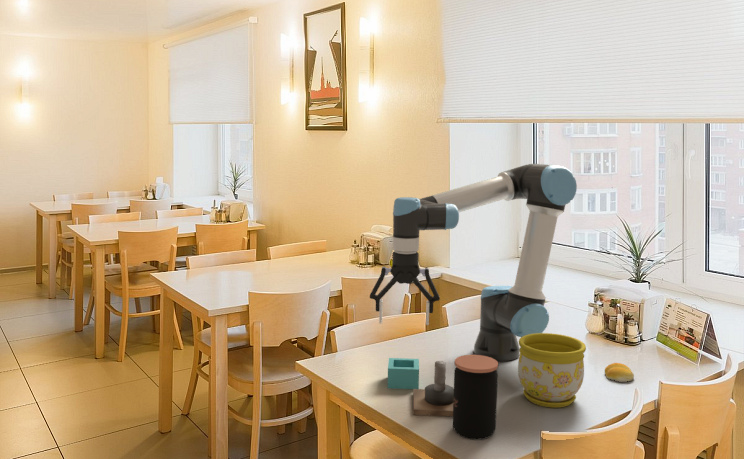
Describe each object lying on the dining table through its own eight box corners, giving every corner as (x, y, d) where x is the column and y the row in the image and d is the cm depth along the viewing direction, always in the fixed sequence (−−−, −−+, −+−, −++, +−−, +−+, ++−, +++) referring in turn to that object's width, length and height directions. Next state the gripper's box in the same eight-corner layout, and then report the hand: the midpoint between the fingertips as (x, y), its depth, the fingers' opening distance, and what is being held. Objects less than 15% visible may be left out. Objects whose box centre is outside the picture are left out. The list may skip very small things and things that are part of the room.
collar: (418, 377, 200) (418, 358, 199) (418, 389, 191) (419, 369, 190) (388, 376, 200) (388, 357, 199) (387, 388, 191) (387, 368, 191)
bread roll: (607, 382, 199) (608, 369, 198) (602, 371, 208) (603, 359, 207) (636, 384, 197) (637, 371, 197) (630, 373, 206) (631, 361, 206)
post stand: (463, 395, 187) (464, 354, 185) (467, 416, 173) (468, 373, 171) (413, 393, 188) (414, 353, 186) (413, 414, 174) (414, 371, 172)
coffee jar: (464, 417, 172) (466, 351, 170) (502, 428, 166) (505, 360, 164) (444, 432, 164) (446, 363, 161) (484, 444, 158) (487, 372, 155)
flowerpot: (539, 381, 198) (541, 328, 196) (594, 399, 185) (598, 343, 183) (503, 397, 186) (505, 341, 183) (560, 418, 173) (563, 358, 170)
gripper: (448, 250, 193) (446, 320, 196) (363, 248, 194) (362, 317, 197) (449, 254, 185) (447, 328, 188) (361, 252, 187) (360, 325, 190)
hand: (403, 323), depth 193 cm, fingers open, 13 cm apart
